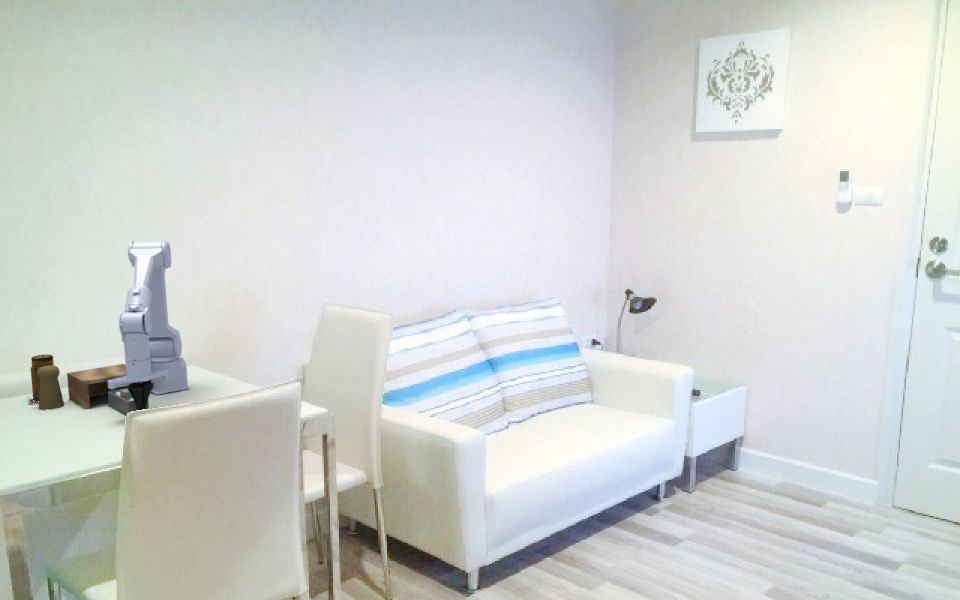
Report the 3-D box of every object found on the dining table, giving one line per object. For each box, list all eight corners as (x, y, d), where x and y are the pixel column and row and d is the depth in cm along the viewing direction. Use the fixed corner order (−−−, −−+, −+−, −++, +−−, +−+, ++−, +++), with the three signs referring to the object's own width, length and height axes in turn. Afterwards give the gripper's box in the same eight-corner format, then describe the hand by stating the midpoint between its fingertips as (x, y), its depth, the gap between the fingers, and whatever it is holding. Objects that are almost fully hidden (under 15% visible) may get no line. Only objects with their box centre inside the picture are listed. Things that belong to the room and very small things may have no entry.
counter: (125, 389, 224) (123, 363, 223) (143, 397, 215) (141, 371, 214) (69, 399, 214) (66, 373, 213) (85, 409, 205) (83, 381, 204)
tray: (128, 402, 211) (126, 383, 210) (149, 413, 201) (147, 393, 200) (108, 406, 207) (107, 387, 207) (129, 417, 198) (127, 397, 197)
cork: (53, 410, 204) (49, 369, 203) (33, 409, 205) (29, 368, 204) (69, 403, 210) (66, 364, 208) (50, 402, 211) (46, 363, 210)
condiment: (60, 394, 220) (56, 352, 218) (59, 401, 213) (55, 358, 211) (31, 397, 217) (27, 355, 215) (28, 404, 209) (24, 361, 208)
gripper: (113, 366, 188) (118, 420, 190) (172, 356, 198) (176, 408, 200) (103, 361, 192) (107, 414, 195) (161, 352, 203) (164, 402, 205)
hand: (141, 411), depth 198 cm, fingers closed
